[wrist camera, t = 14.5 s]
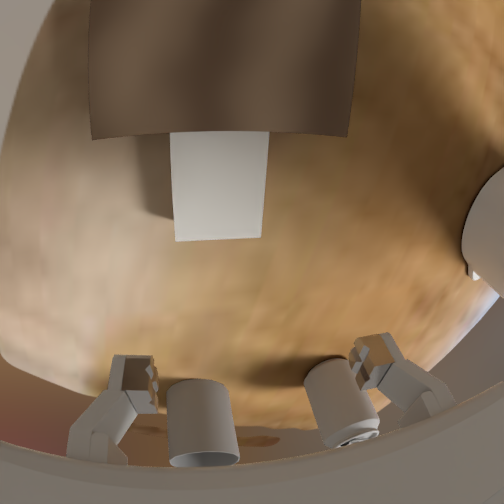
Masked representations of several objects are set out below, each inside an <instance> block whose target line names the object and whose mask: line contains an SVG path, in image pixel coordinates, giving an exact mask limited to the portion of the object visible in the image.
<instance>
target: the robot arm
mask: <svg viewBox="0 0 504 504" xmlns="http://www.w3.org/2000/svg"><path fill="white" fill-rule="evenodd" d="M462 253H463V256H464V259H465V260H466V262H467V263H468V275H469V277H470V278H471V279H473V280H477V279H480V278H482V279H483V280H484V281H485V282H486V283H487V284H488V285H489V286H490V287H492V288H493V289H494V290H495V291H496V292H497V293H498V294H499V295H500V296H501V297H502V298H503V299H504V167H503V168H502V169H501V170H500V171H498V172H497V173H496V174H494V175H493V176H492V177H491V178H490V179H489V180H488V182H487V183H486V184H485V185H484V187H483V188H482V190H481V191H480V193H479V194H478V196H477V198H476V199H475V201H474V203H473V205H472V207H471V210H470V212H469V214H468V217H467V220H466V223H465V226H464V230H463V236H462ZM354 345H355V347H354V348H353V349H351V351H350V353H349V366H350V368H351V371H353V372H354V373H356V377H355V380H356V382H357V385H358V387H359V389H360V391H363V390H367V389H372V388H376V387H377V389H378V390H379V391H381V392H382V393H383V394H384V395H385V396H386V397H387V398H389V399H390V400H391V401H392V402H393V403H394V404H396V405H397V406H398V407H399V408H400V409H401V410H403V411H404V412H405V413H404V414H403V416H402V417H401V418H400V419H399V421H398V424H399V426H400V429H398V430H395V431H392V432H390V433H387V434H384V435H381V436H377V437H374V438H371V439H368V440H364V441H361V442H357V443H354V444H350V445H346V446H343V447H339V448H335V449H330V450H326V451H322V452H317V453H312V454H308V455H302V456H298V457H292V458H286V459H280V460H273V461H266V462H258V463H250V464H240V465H228V466H213V467H172V468H171V467H143V466H128V465H127V456H126V455H125V454H124V453H123V452H122V451H121V450H120V449H119V448H118V446H117V444H118V443H119V441H120V440H121V438H122V437H123V435H124V434H125V433H126V431H127V430H128V428H129V427H130V425H131V424H132V422H133V421H134V419H135V417H136V416H137V413H140V414H141V413H143V414H148V413H151V414H153V413H158V397H157V394H156V392H157V391H158V390H159V380H158V372H157V368H156V367H155V366H154V359H153V356H149V355H114V357H113V360H112V365H111V371H110V377H109V384H108V390H104V391H103V392H102V393H101V394H100V395H99V396H98V397H97V398H96V399H95V401H94V402H93V403H92V404H91V405H90V406H89V407H88V408H87V409H86V411H85V412H84V413H83V414H82V415H81V416H80V417H79V418H78V420H77V421H76V422H75V423H74V424H73V425H72V426H71V427H70V432H69V440H68V446H67V454H66V457H63V456H58V455H53V454H48V453H44V452H39V451H35V450H31V449H28V448H24V447H20V446H17V445H13V444H10V443H7V442H4V441H1V440H0V504H504V381H502V382H500V383H498V384H496V385H495V386H493V387H491V388H489V389H487V390H486V391H484V392H482V393H480V394H478V395H476V396H475V397H472V398H470V399H468V400H466V401H464V402H462V403H461V404H458V405H457V404H456V402H455V400H454V398H453V396H452V394H451V393H450V391H449V389H448V387H447V385H446V384H445V383H444V382H442V381H441V380H439V379H437V378H436V377H434V376H433V375H431V374H430V373H428V372H427V371H425V370H424V369H422V368H420V367H419V366H417V365H416V364H414V363H413V362H411V361H410V360H408V359H407V360H405V359H404V357H403V355H402V353H401V352H400V350H399V348H398V346H397V345H396V343H395V341H394V339H393V338H392V336H391V334H390V333H388V332H386V333H381V334H374V335H369V336H364V337H359V338H357V339H355V342H354Z"/></svg>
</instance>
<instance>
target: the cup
mask: <svg viewBox="0 0 504 504" xmlns="http://www.w3.org/2000/svg"><path fill="white" fill-rule="evenodd" d="M166 394H167V425H168V443H169V444H168V445H169V460H170V463H171V465H173V466H175V467H213V466H228V465H233V464H235V463H237V462H238V461H239V459H240V455H239V450H238V444H237V439H236V433H235V428H234V422H233V416H232V410H231V404H230V398H229V392H228V390H227V388H226V387H225V386H224V385H223V384H221V383H218V382H216V381H213V380H207V379H191V380H183V381H181V382H178V383H176V384H174V385H172V386H171V387H170V388H169V389H168V390H167V392H166Z"/></svg>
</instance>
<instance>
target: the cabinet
mask: <svg viewBox="0 0 504 504" xmlns="http://www.w3.org/2000/svg"><path fill="white" fill-rule="evenodd" d="M360 9H361V0H91V7H90V21H89V44H88V83H89V107H90V122H91V134H92V140H97V139H105V138H114V137H123V136H134V135H145V134H159V133H176V132H201V131H260V132H286V133H303V134H317V135H329V136H339V137H347V133H348V127H349V120H350V112H351V105H352V97H353V88H354V80H355V70H356V61H357V50H358V38H359V25H360Z"/></svg>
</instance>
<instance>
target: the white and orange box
mask: <svg viewBox="0 0 504 504" xmlns="http://www.w3.org/2000/svg"><path fill="white" fill-rule="evenodd" d="M269 133H270V132H260V131H201V132H176V133H170V156H171V180H172V199H173V214H174V228H175V240H176V242H178V241H198V240H219V239H241V238H261V230H262V218H263V206H264V194H265V182H266V170H267V158H268V145H269Z"/></svg>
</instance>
